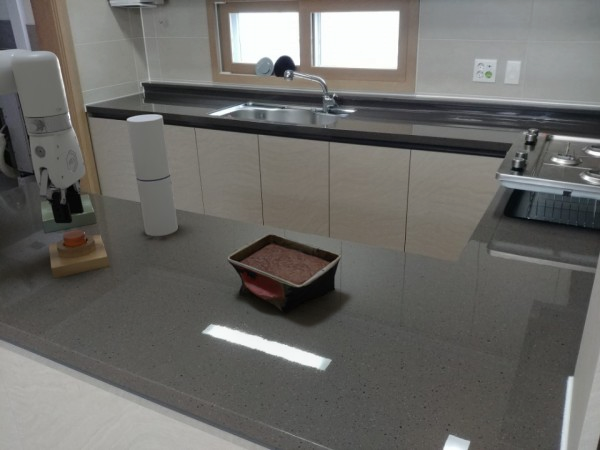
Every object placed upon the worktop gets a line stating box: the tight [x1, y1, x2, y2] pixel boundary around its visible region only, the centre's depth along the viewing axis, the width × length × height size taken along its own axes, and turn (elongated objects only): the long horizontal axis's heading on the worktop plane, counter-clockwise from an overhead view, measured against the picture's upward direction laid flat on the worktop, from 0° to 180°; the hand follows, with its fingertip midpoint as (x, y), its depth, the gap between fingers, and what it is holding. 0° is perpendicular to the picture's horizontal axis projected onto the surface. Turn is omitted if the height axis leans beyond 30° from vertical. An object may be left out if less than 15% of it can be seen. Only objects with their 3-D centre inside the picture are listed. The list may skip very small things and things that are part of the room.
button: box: [62, 229, 86, 247], centre depth 105 cm, size 4×4×2 cm
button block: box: [48, 233, 110, 279], centre depth 106 cm, size 12×10×4 cm
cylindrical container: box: [126, 113, 179, 237], centre depth 115 cm, size 7×7×25 cm
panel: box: [40, 193, 97, 234], centre depth 128 cm, size 14×11×3 cm
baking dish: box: [226, 233, 342, 315], centre depth 91 cm, size 14×18×10 cm
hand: (69, 216), depth 103 cm, fingers open, 4 cm apart
